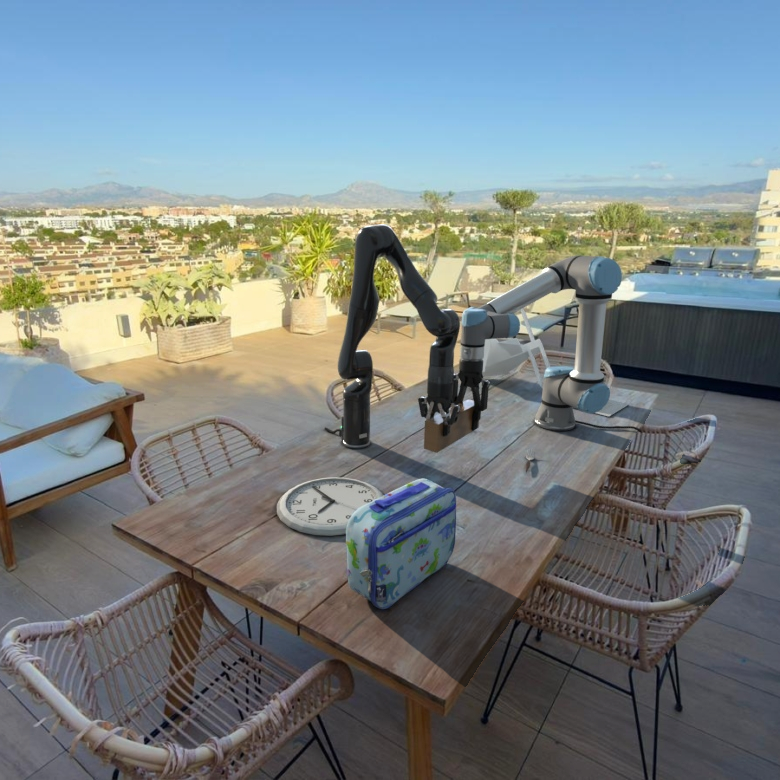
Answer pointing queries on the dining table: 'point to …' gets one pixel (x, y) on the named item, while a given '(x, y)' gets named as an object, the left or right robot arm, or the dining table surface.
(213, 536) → the dining table surface
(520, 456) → the dining table surface
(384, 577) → the lunch box
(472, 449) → the dining table surface
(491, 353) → the white plastic object
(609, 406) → the invitation card
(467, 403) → the bar
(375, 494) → the wall clock
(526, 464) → the fork
